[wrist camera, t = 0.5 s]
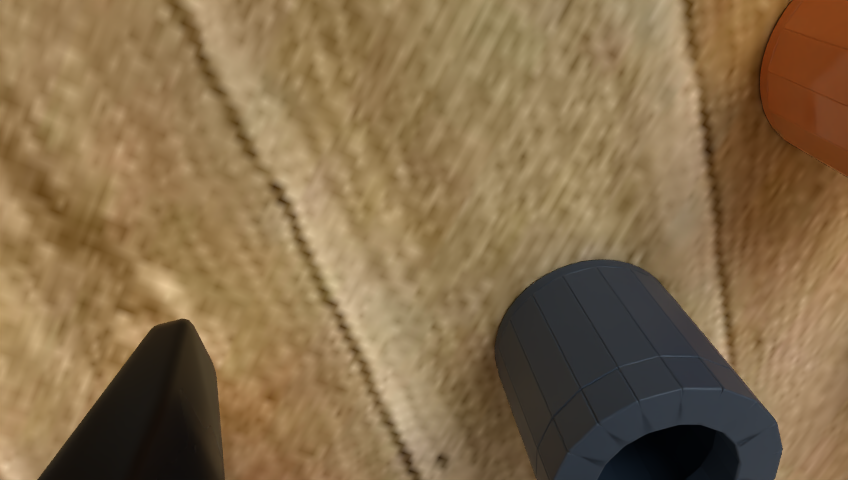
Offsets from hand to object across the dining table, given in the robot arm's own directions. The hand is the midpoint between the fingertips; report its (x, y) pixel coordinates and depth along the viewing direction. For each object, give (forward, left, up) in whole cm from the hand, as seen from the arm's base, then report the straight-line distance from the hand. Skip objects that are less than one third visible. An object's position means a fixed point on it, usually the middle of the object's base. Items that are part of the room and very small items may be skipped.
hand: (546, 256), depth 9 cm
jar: (-11, -8, -14) cm, 20 cm away
